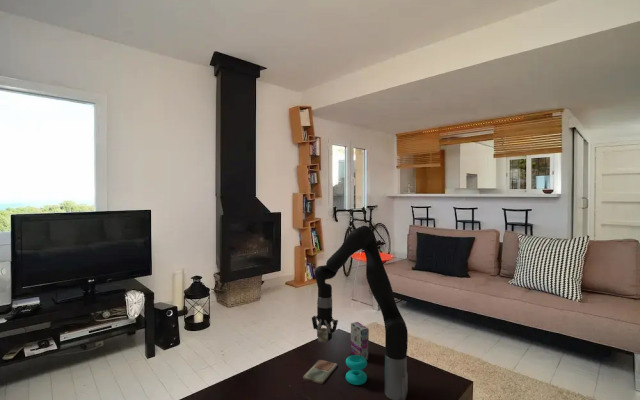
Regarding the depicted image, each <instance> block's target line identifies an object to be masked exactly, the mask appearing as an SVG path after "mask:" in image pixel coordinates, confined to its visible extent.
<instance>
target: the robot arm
mask: <svg viewBox="0 0 640 400" xmlns="http://www.w3.org/2000/svg"><path fill="white" fill-rule="evenodd" d="M377 243H378V242H377V239H376V236H375V233H374V232H373V229H371V227H370V226H367V225H361V226H359V227H357V228H355V229H353V230H351V232H350V233H349V234H348V235H347V237H346V238H345V240H344V241H343V243H342V245H341V246H339V248H337V250H336V251H335V252H334V253H333V254H332V255H331V256H330V257H329V258H328V259H327V260H326V264H324V265H320V266H317V267H316V268H315V271H314V277H315V281H316V284H317V285H316V286H317V301H316V302H317V303H316V305H317V307H316V308H317V309H316V312H317V315H313V316H312V317H311V322H312V327H313V330H316V337H317V338H318V331H319V330H320V329H321V328H323V327H322V326H324V327H325V328H327V329H328V332H329V333H328V340H329V342H330V341H331V340H332V339H333V333H335V332H336V330H337V326H338V322H339V320H338V319H334V318H333V289H332V284H330V283H326V280H331V279H333V278H334V277H335V276H336V275H337V273H338V272H339V270H340V269H341V268H342V267H343V266H345V264H346V263H347V262H348V260H349V259H350V257H351V256H352V255H353V254H355V253H356V252H358V251H361V250H363V251H364V255H365V259H366V261H365V263H366V264H365V265H366V266H365V267H366V268H365V276H366V281H367V284H368V287H369V290H370V291H371V294H372V297H374V298H373V299H374V300H375V302H376V303H377V305H378V307H379V309H380V312H381V314H382V319H383V324H384V330H385V332H384V333H385V337H384V338H385V339H384V340H385V341H384V342H385V346H384V395H385V396H386V397H387V398H388V399H390V400H406V399H407V396H408V379H409V378H408V371H407V367H408V366H407V361H408V360H407V359H408V357H407V356H408V354H407V352H408V343H409V342H408V340H409V339H408V337H409V336H408V334H409V333H408V327H407V324H406V321H405V320H404V317H403V316H402V313H401V312H400V310H399V308H398V305H397V304H396V300H395V296H394V291H393V288H392V284H391V281H390V279H389V278H390V277H389V276H388V274H387V271H386V268H385V265H384V263H383V260H382V258H381V254H380V250H379V247H378V244H377Z"/></svg>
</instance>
